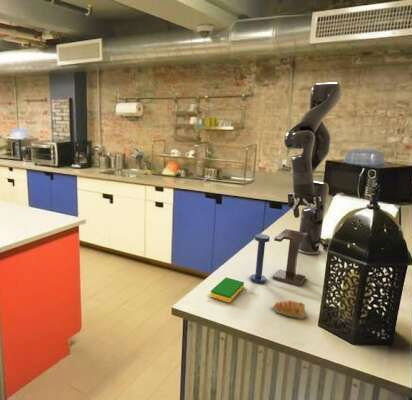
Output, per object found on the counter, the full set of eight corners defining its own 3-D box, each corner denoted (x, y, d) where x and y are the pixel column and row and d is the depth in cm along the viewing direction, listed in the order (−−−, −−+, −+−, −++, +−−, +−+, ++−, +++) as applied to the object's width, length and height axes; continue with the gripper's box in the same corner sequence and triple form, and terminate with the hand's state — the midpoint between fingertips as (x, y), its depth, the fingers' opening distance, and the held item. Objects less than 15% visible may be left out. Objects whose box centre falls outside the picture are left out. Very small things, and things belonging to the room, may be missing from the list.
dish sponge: (243, 288, 137) (244, 282, 137) (229, 303, 127) (229, 296, 126) (225, 282, 141) (226, 276, 141) (210, 296, 131) (210, 290, 130)
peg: (253, 275, 148) (257, 232, 143) (267, 279, 144) (272, 235, 140) (248, 280, 143) (252, 236, 139) (262, 284, 140) (267, 239, 136)
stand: (279, 271, 151) (284, 227, 147) (305, 278, 145) (311, 232, 141) (266, 284, 140) (271, 237, 135) (294, 293, 134) (300, 243, 129)
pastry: (274, 315, 119) (275, 304, 118) (272, 305, 125) (273, 295, 125) (305, 320, 117) (307, 309, 116) (302, 309, 123) (303, 299, 122)
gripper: (325, 179, 141) (328, 219, 146) (293, 176, 154) (297, 213, 158) (313, 185, 138) (316, 225, 143) (281, 182, 151) (285, 219, 155)
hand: (306, 219), depth 150 cm, fingers open, 8 cm apart
